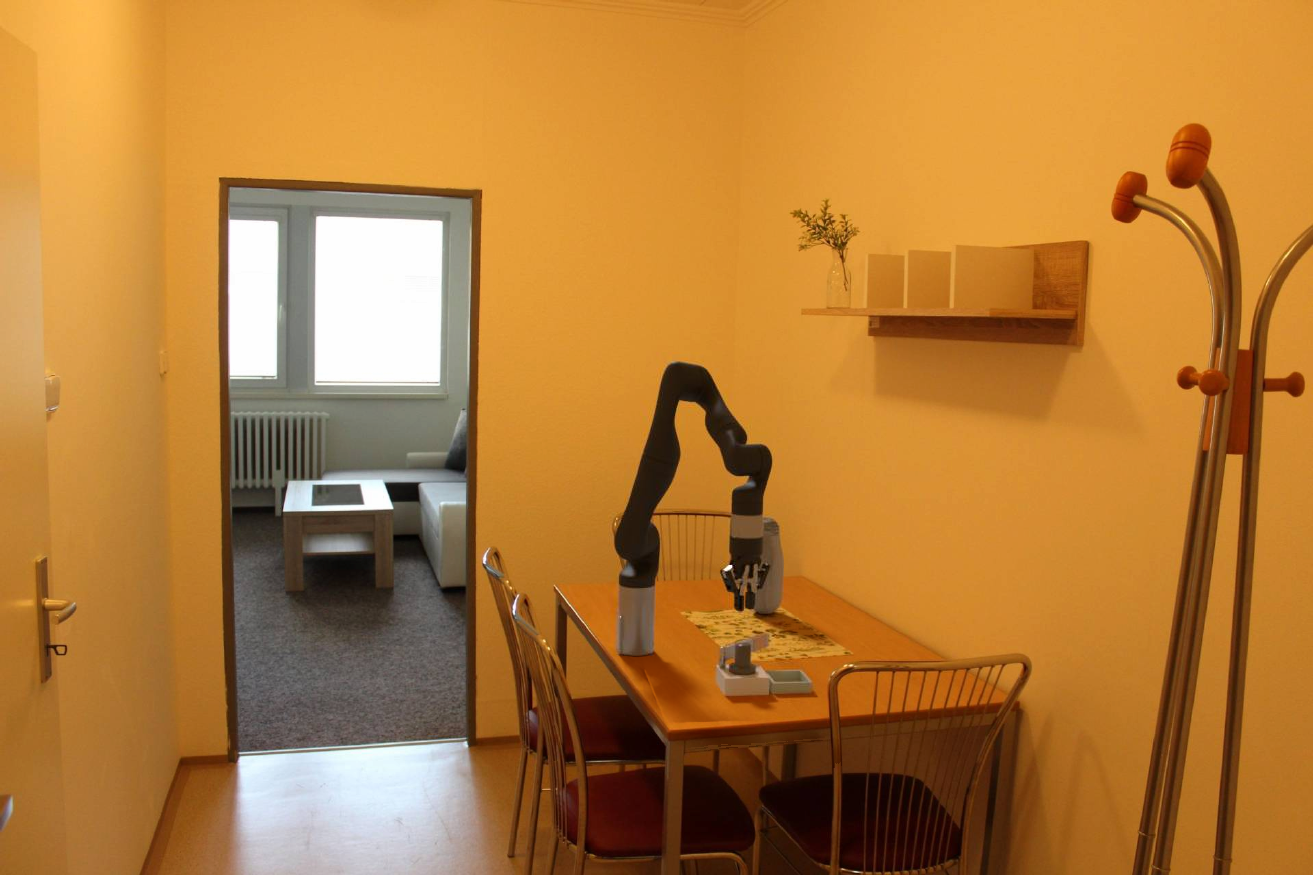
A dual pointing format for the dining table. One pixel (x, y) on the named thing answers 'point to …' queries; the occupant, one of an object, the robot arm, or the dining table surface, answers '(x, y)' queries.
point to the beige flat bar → (755, 641)
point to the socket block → (742, 682)
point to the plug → (742, 660)
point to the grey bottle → (771, 570)
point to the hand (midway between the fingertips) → (744, 609)
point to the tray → (789, 682)
